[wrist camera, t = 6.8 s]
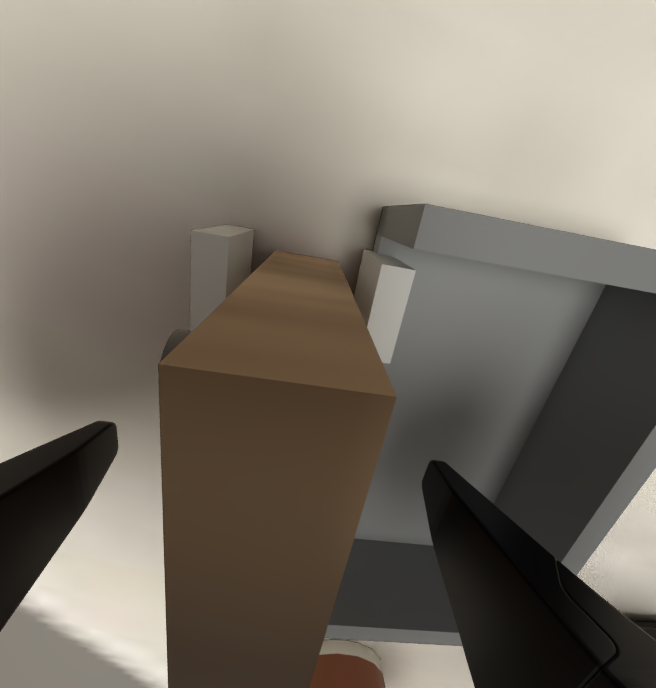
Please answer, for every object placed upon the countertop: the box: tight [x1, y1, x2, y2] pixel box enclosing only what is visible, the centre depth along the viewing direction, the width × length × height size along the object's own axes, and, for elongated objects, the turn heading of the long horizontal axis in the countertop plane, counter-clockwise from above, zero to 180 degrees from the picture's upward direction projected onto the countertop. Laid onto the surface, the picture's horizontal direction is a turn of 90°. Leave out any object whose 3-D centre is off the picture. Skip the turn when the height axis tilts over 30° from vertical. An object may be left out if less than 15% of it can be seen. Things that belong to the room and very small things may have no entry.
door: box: [158, 251, 397, 688], centre depth 8 cm, size 10×3×8 cm, turn 170°
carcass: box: [190, 204, 656, 646], centre depth 10 cm, size 14×12×4 cm
